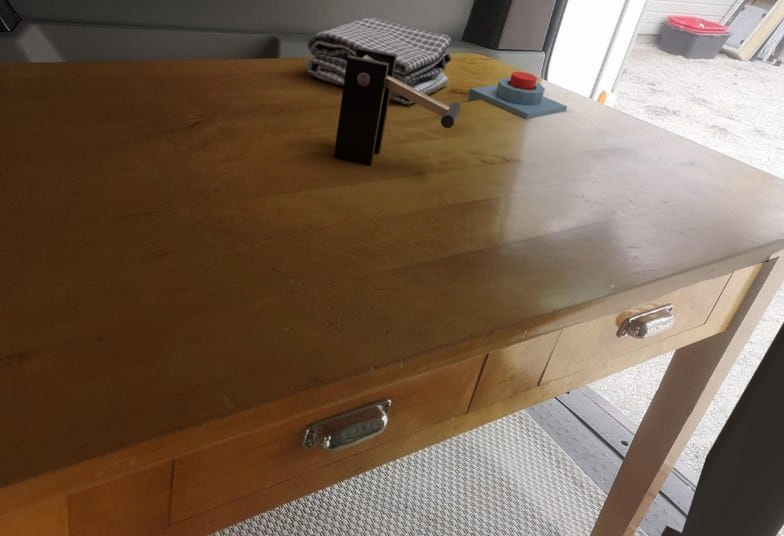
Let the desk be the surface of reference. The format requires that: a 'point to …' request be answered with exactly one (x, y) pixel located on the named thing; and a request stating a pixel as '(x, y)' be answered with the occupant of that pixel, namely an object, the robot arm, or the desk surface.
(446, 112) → the lever
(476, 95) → the control block
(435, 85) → the towel
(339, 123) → the switch bracket
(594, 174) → the desk surface
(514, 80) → the button
